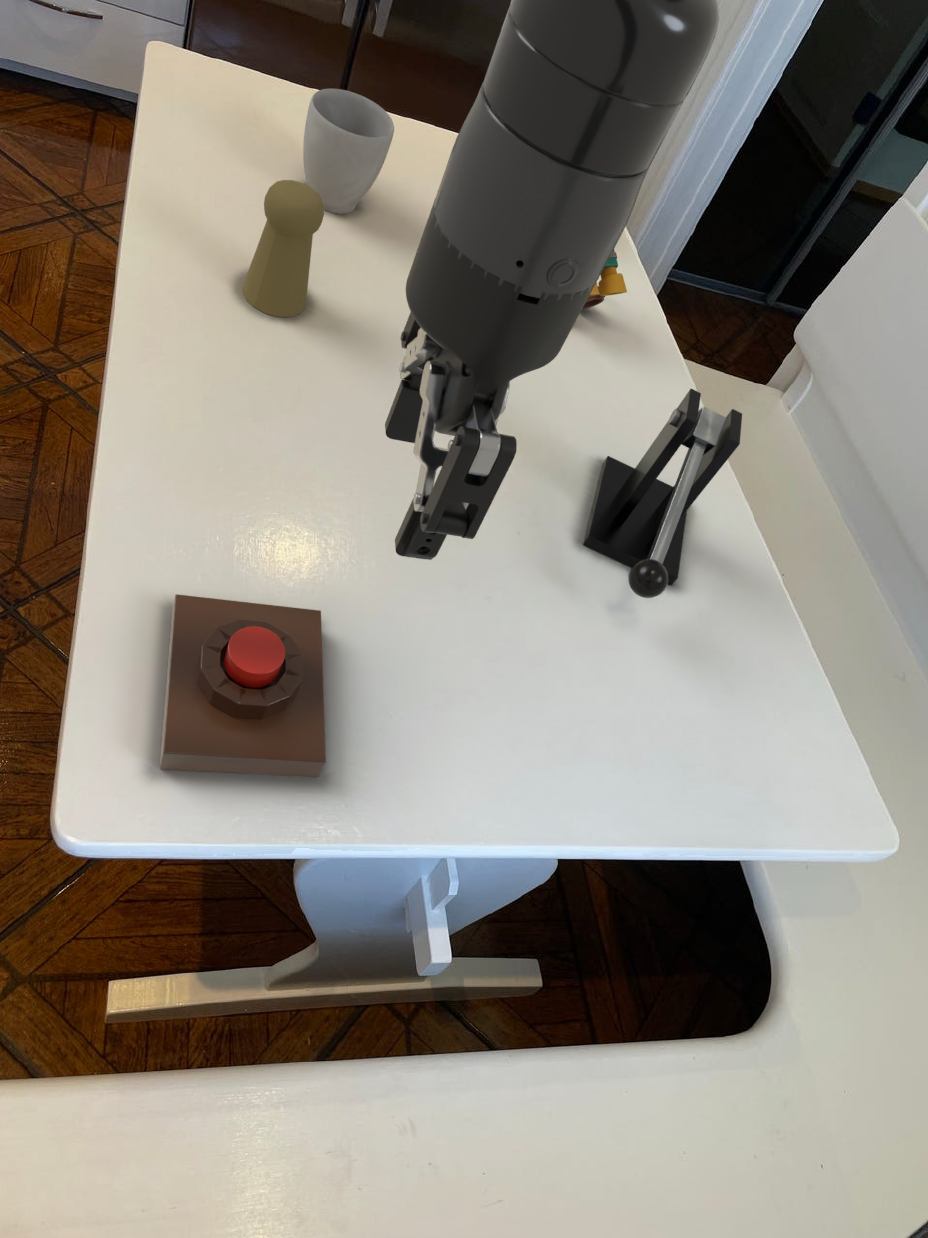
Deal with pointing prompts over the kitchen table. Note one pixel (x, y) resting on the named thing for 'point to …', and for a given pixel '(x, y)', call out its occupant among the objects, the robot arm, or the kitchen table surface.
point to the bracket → (653, 491)
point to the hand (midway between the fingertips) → (407, 492)
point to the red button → (254, 657)
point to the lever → (675, 506)
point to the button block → (242, 693)
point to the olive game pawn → (284, 249)
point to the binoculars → (607, 283)
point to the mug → (344, 147)
